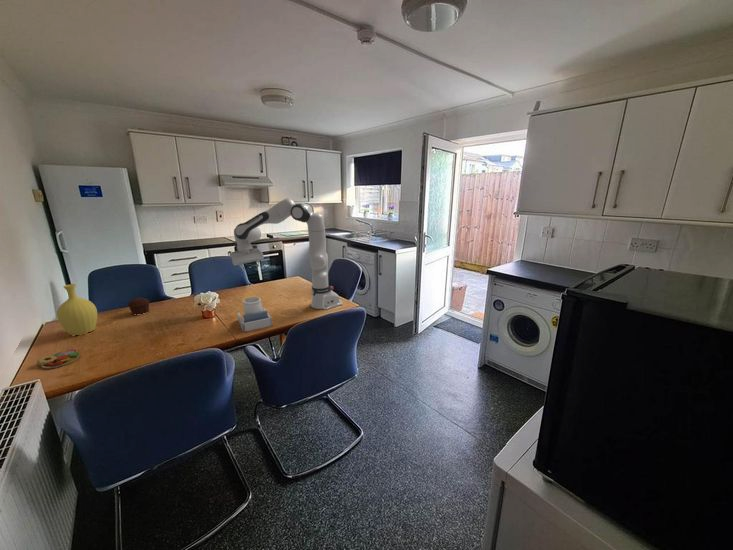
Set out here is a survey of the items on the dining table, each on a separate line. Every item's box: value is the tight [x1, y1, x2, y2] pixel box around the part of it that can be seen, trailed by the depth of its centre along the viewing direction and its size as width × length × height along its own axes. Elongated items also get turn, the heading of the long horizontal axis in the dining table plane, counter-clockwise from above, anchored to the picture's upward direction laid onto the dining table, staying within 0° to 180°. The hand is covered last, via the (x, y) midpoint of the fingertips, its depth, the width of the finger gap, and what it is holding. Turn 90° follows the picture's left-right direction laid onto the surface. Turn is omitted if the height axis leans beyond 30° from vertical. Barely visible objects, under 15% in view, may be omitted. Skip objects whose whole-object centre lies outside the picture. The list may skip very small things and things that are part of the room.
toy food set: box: [36, 349, 80, 369], centre depth 138 cm, size 13×13×3 cm
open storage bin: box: [237, 307, 273, 333], centre depth 178 cm, size 16×19×5 cm
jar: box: [242, 296, 263, 315], centre depth 177 cm, size 11×10×15 cm
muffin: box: [127, 297, 151, 315], centre depth 192 cm, size 12×11×10 cm
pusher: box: [242, 309, 268, 323], centre depth 173 cm, size 13×2×8 cm, turn 121°
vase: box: [56, 283, 98, 336], centre depth 163 cm, size 16×16×28 cm
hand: (250, 268), depth 198 cm, fingers open, 8 cm apart
